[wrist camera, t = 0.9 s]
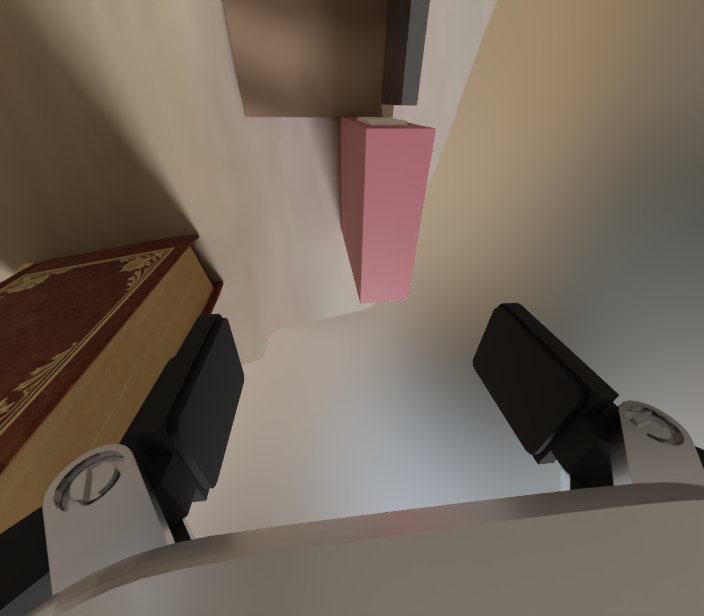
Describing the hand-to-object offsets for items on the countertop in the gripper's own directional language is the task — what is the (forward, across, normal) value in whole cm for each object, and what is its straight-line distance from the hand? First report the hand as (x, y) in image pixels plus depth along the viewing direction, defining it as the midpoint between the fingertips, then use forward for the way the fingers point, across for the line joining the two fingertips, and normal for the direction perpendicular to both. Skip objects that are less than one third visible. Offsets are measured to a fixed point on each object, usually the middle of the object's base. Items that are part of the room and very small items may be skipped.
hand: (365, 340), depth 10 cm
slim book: (+27, -3, -1) cm, 27 cm away
